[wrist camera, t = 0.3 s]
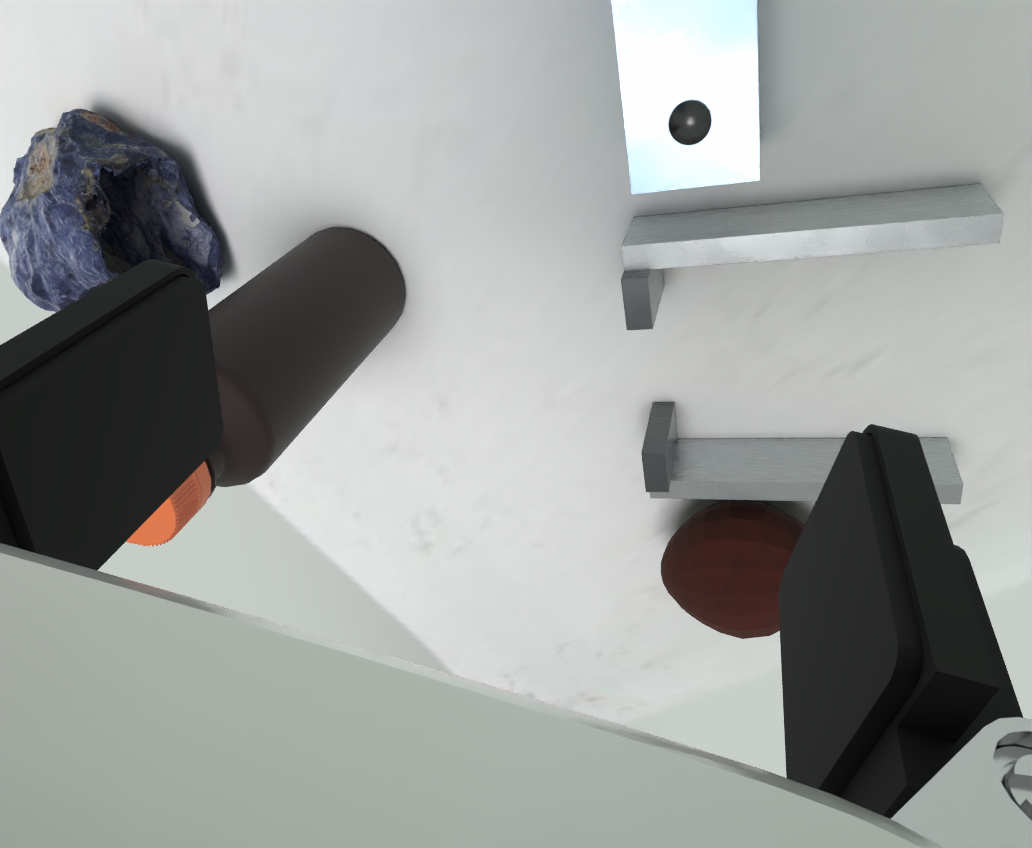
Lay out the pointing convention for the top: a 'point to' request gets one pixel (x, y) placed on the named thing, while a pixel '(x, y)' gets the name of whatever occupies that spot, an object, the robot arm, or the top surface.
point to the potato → (731, 566)
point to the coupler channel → (778, 236)
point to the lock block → (689, 91)
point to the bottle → (285, 358)
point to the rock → (97, 212)
